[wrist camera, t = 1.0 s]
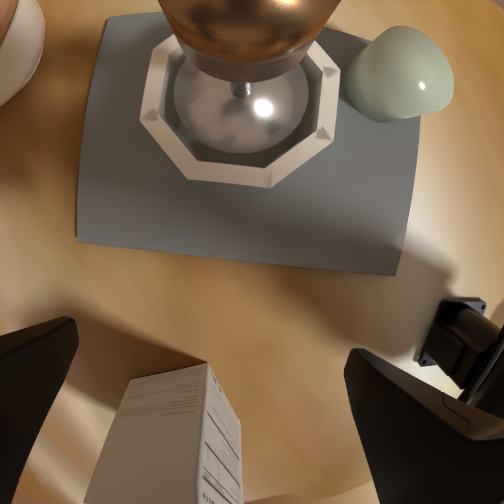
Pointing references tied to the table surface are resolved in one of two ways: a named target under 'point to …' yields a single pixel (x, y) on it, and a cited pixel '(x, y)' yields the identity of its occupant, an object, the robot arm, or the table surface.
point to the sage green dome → (399, 77)
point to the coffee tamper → (243, 68)
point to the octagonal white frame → (239, 165)
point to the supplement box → (171, 444)
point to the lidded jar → (19, 44)
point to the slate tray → (234, 195)
